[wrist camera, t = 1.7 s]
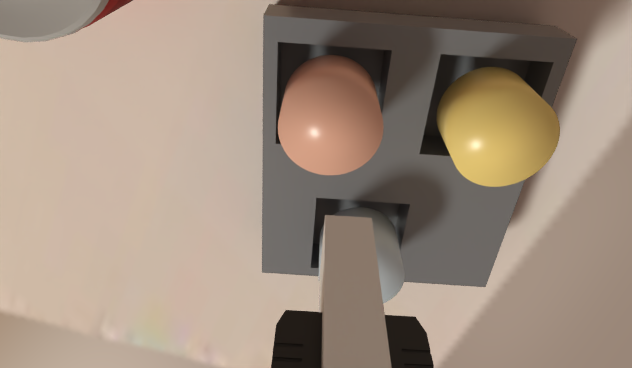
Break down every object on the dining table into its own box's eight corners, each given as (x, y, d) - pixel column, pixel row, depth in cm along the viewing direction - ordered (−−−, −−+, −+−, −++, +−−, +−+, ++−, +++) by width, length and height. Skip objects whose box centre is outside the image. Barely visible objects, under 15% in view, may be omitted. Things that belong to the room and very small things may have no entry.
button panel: (272, -2, 25) (263, 15, 22) (544, 19, 25) (577, 38, 22) (268, 234, 34) (262, 272, 31) (469, 248, 34) (485, 287, 31)
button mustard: (447, 63, 23) (465, 89, 20) (544, 70, 23) (576, 97, 20) (428, 149, 25) (441, 183, 22) (514, 155, 25) (539, 190, 22)
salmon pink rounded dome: (285, 51, 22) (279, 75, 20) (383, 58, 23) (391, 83, 20) (282, 138, 25) (276, 171, 22) (370, 144, 25) (375, 178, 22)
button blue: (322, 204, 27) (322, 242, 24) (402, 210, 27) (411, 248, 25) (317, 264, 30) (315, 305, 27) (390, 269, 30) (397, 310, 27)
